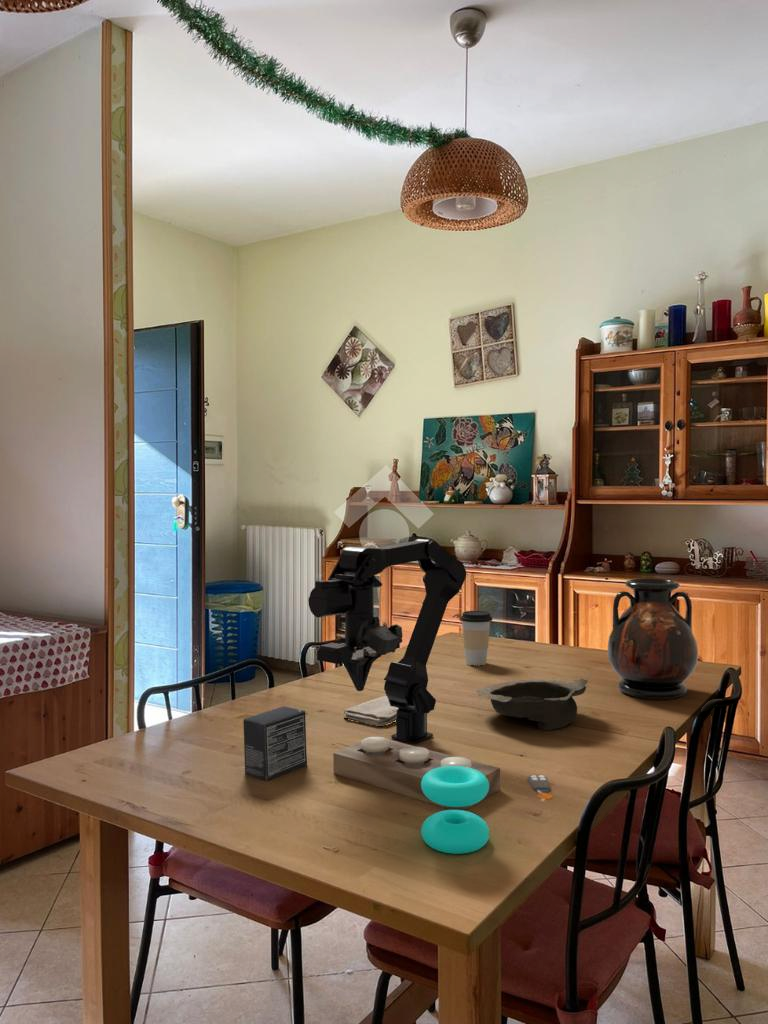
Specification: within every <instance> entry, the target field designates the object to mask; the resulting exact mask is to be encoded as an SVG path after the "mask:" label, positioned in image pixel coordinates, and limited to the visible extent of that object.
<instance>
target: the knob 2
mask: <svg viewBox="0 0 768 1024" xmlns="http://www.w3.org/2000/svg"><path fill="white" fill-rule="evenodd" d="M471 761H472V760H470V759H468V758H466V757H463V756H462V757H461V756H455V757H448V758H445V759H443V760H441V767H443V766H463V767H469V768H472V766H471Z"/></svg>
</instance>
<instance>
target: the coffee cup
mask: <svg viewBox="0 0 768 1024" xmlns="http://www.w3.org/2000/svg"><path fill="white" fill-rule="evenodd" d="M492 616H493V615H492ZM492 616H491V613H490V612H489V611H486V610H485V611H484V610H468V611H467V610H466V611H463V612H462V615H460V618H459V620H460V621H461V626H462V629H461V631H462V639H463V640H462V641H463V648H464V655H465V662H466V663H465V664H466V665H467V664H468V666H471V665H474V666H473V667H481V666H480V665H483V666H486V665H487V660H488V659H487V657H488V648H489V645H490V644H489V643H490V641H489V640H490V632H491V629H490V627H491V626H490V625H491V622H492V621H493V617H492ZM475 665H476V666H475ZM477 665H478V666H477Z"/></svg>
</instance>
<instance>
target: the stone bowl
mask: <svg viewBox="0 0 768 1024" xmlns="http://www.w3.org/2000/svg"><path fill="white" fill-rule="evenodd" d="M587 683H588V680H587V679H584V678H580V679H579V680H577V679H575V680H573V681H570V680H566V679H548V678H545V679H520V680H509V681H505V682H500V683H495V684H490V685H486V686H484V687H482V688H479V689H478V690H476V694H478V695H477V696H478V697H482V698H485V699H486V698H487V699H489V700H490V703H491V706H492V708H493V710H494V711H495V712H496V713H497V714H501V715H502V716H503V715H504V716H508V717H513V718H518V719H519V718H520V719H521V718H527V720H529V721H533V722H537V726H538V728H539V730H542V731H545V730H546V731H547V732H549V731H548V730H550V731H552V730H558V729H561V728H565V727H567V726H569V724H573V723H574V722H575V721H576V720H577V718H578V706H577V701H575V699H574V697H577V696H580V695H583V694H584V693H585V692H586V690H587V686H586V685H587Z"/></svg>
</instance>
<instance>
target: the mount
mask: <svg viewBox="0 0 768 1024" xmlns="http://www.w3.org/2000/svg"><path fill="white" fill-rule="evenodd" d="M374 737H377V736H374ZM388 740H389V749H388V750H386V751H385V753H384V754H381V755H379V756H374V755H370V754H367V753H366V751H364V750H362V749H361V741H360V742H358V743H355V744H353V745H350V746H347V747H345V748H342V749H340V750H337V751H335V752H333V759H332V760H333V774H334V775H338V776H341V777H344V778H347V779H351V780H353V781H357V782H360V783H363V784H367V785H369V786H373V787H376V788H380V789H383V790H386V791H390V792H392V793H396V794H399V795H403V796H406V797H409V798H413V799H416V800H420V801H422V802H426V803H429V804H432V805H435V806H438V807H441V808H444V809H447V810H463V811H467V810H468V809H470V808H472V807H474V806H475V805H476V804H478V803H480V802H481V801H484V800H485V799H487V798H488V797H490V796H492V795H494V794H495V793H497V792H499V791H500V790H501V768H500V767H498V766H493V765H489V764H487V763H481V762H479V761H473V760H470V761H471V766H472V769H475V770H478V771H479V772H481V773H482V774H484V775H485V777H486V778H487V780H488V782H489V790H488V793H487V795H486V796H485V797H484V798H483V799H482V800H481V801H479V802H478V803H475V804H473V805H469V806H464V807H449V806H444V805H440V804H437V803H435V802H433V801H431V800H430V799H429V798H427V797H426V796H425V794H424V793H423V791H422V788H421V781H422V778H423V776H424V775H425V774H426V773H427V772H429V771H430V770H432V769H435V768H438V767H441V760H443V759H445V758H448V757H456V756H453V755H450V754H446V753H442V752H439V751H436V750H435V751H434V750H430V749H428V751H429V759H428V760H427V761H425V762H424V764H423V765H421V766H419V767H414V766H410V765H407V764H404V762H403V761H401V760H400V758H399V751H400V750H401V749H402V748H405V747H412V746H413V745H412V744H408V743H403V742H401V741H395V740H391V739H388Z"/></svg>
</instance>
